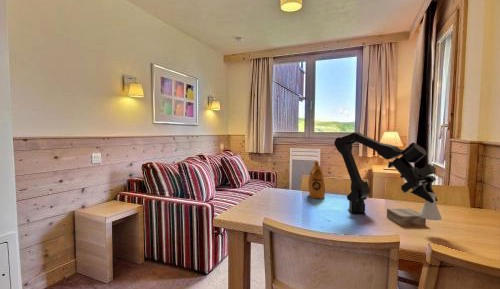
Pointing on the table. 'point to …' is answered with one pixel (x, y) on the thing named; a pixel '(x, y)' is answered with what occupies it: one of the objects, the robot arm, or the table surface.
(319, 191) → the coffee package
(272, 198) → the table surface
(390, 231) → the table surface
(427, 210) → the flask
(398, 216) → the walnut block
